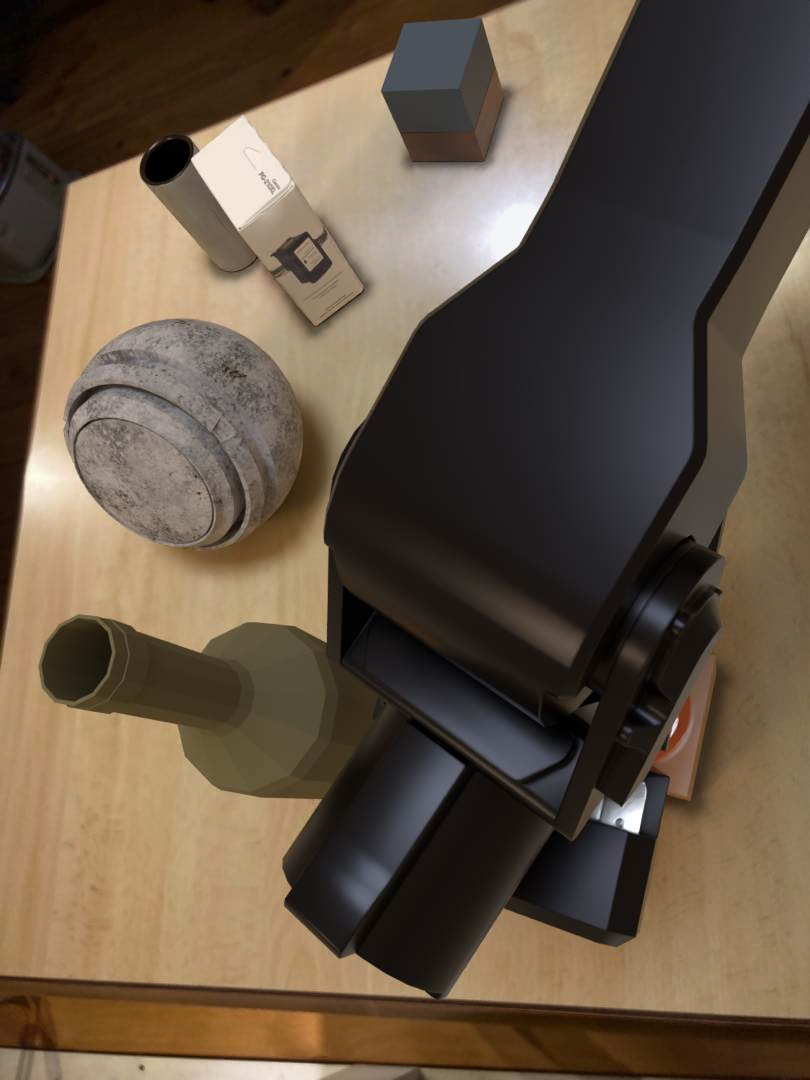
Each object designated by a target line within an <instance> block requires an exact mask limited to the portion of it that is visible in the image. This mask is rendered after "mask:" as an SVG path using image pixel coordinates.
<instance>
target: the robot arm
mask: <svg viewBox="0 0 810 1080" xmlns="http://www.w3.org/2000/svg"><path fill="white" fill-rule="evenodd" d="M809 230H810V0H635V1H634V3H633V5H632V7H631V9H630V12H629V15H628V16H627V19H626V21H625V23H624V25H623V28H622V29H621V32H620V34H619V36H618V38H617V41H616V43H615V45H614V47H613V49H612V52H611V54H610V56H609V58H608V60H607V63H606V65H605V67H604V69H603V71H602V74H601V76H600V78H599V81H598V83H597V85H596V86H595V89H594V92H593V93H592V96H591V98H590V100H589V102H588V105H587V106H586V109H585V110H584V113H583V116H582V118H581V120H580V122H579V124H578V127H577V129H576V131H575V133H574V135H573V138H572V140H571V142H570V144H569V146H568V148H567V150H566V153H565V155H564V157H563V159H562V162H561V164H560V165H559V168H558V170H557V173H556V175H555V177H554V179H553V182H552V184H551V186H550V188H549V190H548V192H547V193H546V196H545V197H544V199H543V201H542V203H541V205H540V206H539V208H538V210H537V211H536V213H535V215H534V217H533V219H532V221H531V223H530V224H529V226H528V227H527V230H526V232H525V233H524V235H523V237H522V239H521V241H520V242H519V244H518V245H517V247H515V248H514V249H513V250H511V251H510V252H509V253H507V254H506V255H505V256H503V257H502V258H500V259H499V260H498V261H496V262H495V263H494V264H493V265H491V266H490V267H488V268H487V269H486V270H484V272H482V273H480V275H478V276H477V277H475V278H474V279H473V280H471V281H470V282H468V283H467V284H466V285H464V286H463V287H462V288H461V289H459V290H458V291H456V292H455V293H453V294H452V295H451V296H449V297H448V298H447V299H445V300H444V301H443V302H442V303H440V304H439V305H438V306H436V307H435V308H434V309H432V310H431V311H430V312H428V313H427V314H426V315H425V316H424V317H422V319H421V320H419V322H418V323H417V325H416V326H415V328H414V329H413V331H412V333H411V335H410V336H409V338H408V339H407V342H406V344H405V345H404V348H403V349H402V351H401V353H400V355H399V357H398V358H397V361H396V362H395V364H394V366H393V367H392V369H391V371H390V373H389V375H388V377H387V378H386V380H385V382H384V384H383V386H382V387H381V389H380V390H379V391H380V392H379V393H378V395H377V397H376V399H375V401H374V402H373V404H372V406H371V408H370V410H369V411H368V414H367V415H366V417H365V419H364V420H363V421H362V422H361V423H360V424H359V426H357V428H355V430H354V431H353V433H352V434H351V437H350V438H349V440H348V441H347V443H346V444H345V446H344V449H343V450H342V452H341V453H340V456H339V459H338V462H337V463H336V466H335V469H334V472H333V474H332V478H331V484H330V491H329V498H328V501H327V504H326V507H325V514H324V516H325V517H324V521H323V529H322V530H323V532H322V536H323V544H324V545H325V546H326V547H327V548H328V549H327V550H328V552H327V598H326V599H327V601H326V602H327V603H326V604H327V606H326V643H327V653H326V656H327V658H328V660H330V661H331V662H332V663H334V664H335V665H336V666H338V667H339V668H340V669H342V670H343V671H344V672H346V673H347V674H348V675H350V676H351V677H352V678H354V679H355V680H356V681H358V682H359V683H360V684H362V685H363V686H364V687H366V688H367V689H368V690H370V691H371V692H373V693H374V694H375V695H377V696H378V699H377V702H376V706H375V709H374V713H373V716H372V717H373V720H375V721H374V722H373V724H372V725H371V727H370V728H369V730H368V731H367V733H366V734H365V736H364V737H363V739H362V740H361V742H360V743H359V745H358V746H357V748H356V749H355V751H354V752H353V754H352V755H351V757H350V758H349V760H348V761H347V763H346V764H345V766H344V767H343V769H342V770H341V772H340V773H339V775H338V776H337V778H336V779H335V781H334V782H333V784H332V785H331V787H330V788H329V790H328V791H327V793H326V794H325V796H324V797H323V799H320V802H319V803H318V804H317V806H316V807H315V809H314V810H313V812H312V814H311V815H310V816H309V818H308V819H307V821H306V823H304V825H303V827H302V828H301V830H300V831H299V833H298V834H297V836H296V837H295V838H294V841H293V842H292V843H291V845H290V847H289V848H288V850H286V852H285V854H284V855H283V857H282V859H281V860H282V863H281V868H282V871H283V874H284V877H285V879H286V882H287V884H288V885H289V887H290V890H289V891H288V892H287V894H286V896H285V898H284V900H283V906H284V908H285V909H286V910H287V911H288V912H289V913H290V914H291V915H293V917H295V919H297V920H298V921H299V923H301V924H302V925H303V926H304V927H305V928H306V929H307V930H308V931H309V932H310V933H312V935H313V936H314V937H315V938H316V939H318V940H319V942H320V943H322V944H323V945H324V946H325V947H326V949H328V950H329V951H330V952H331V953H332V954H333V955H334V956H335V957H337V959H339V960H341V959H345V958H347V957H350V956H352V955H356V956H358V957H359V958H361V959H362V960H364V961H365V962H366V963H368V964H370V965H371V966H373V967H375V968H376V969H378V970H379V971H380V972H382V973H384V974H385V975H387V976H389V977H391V978H392V979H395V980H397V981H399V982H401V983H402V984H405V985H407V986H409V987H412V988H415V989H418V990H420V991H424V992H425V993H426V994H427V995H428V996H430V997H431V998H433V999H435V1000H436V1001H437V1000H438V1001H441V1000H443V999H445V998H447V997H448V996H449V994H450V993H451V992H452V990H453V988H454V986H455V985H456V983H457V981H458V980H459V978H460V977H461V975H462V974H463V973H464V971H465V969H466V968H467V967H468V964H469V963H470V962H471V960H472V958H473V957H474V955H475V953H476V952H477V951H478V949H479V948H480V946H481V944H482V942H483V941H484V939H486V937H487V936H488V933H489V932H490V930H491V928H492V927H493V926H494V924H495V922H496V921H497V919H498V918H499V916H500V915H501V913H502V912H503V910H506V911H509V912H512V913H514V914H517V915H519V916H523V917H525V918H528V919H531V920H534V921H536V922H539V923H541V924H544V925H548V926H550V927H553V928H556V929H558V930H560V931H563V932H566V933H569V934H572V935H574V936H577V937H579V938H582V939H585V940H588V941H589V942H590V941H591V942H594V943H596V944H599V945H603V946H609V947H612V948H613V947H614V948H618V947H621V946H622V945H624V944H626V943H628V942H629V941H631V940H634V939H636V938H637V936H638V935H639V933H640V932H641V927H642V922H643V918H644V913H645V909H646V905H647V904H646V903H647V898H648V893H649V889H650V885H651V880H652V875H653V870H654V866H655V860H656V854H657V847H658V842H659V839H658V837H659V833H660V829H661V828H660V827H661V823H662V819H663V813H664V809H665V804H666V799H667V796H668V795H667V791H668V786H669V781H670V777H669V776H668V775H666V774H664V773H663V772H661V771H660V770H658V769H656V768H655V767H653V766H652V764H653V762H654V760H655V758H656V756H657V754H658V753H659V751H660V750H661V751H665V752H667V750H668V745H669V740H670V736H671V731H672V726H673V724H674V722H675V720H676V719H677V717H678V715H679V713H680V711H681V709H682V707H683V705H684V703H685V702H686V700H687V698H688V696H689V694H690V692H691V690H692V688H693V686H694V685H695V683H696V681H697V679H698V677H699V675H700V673H701V671H702V669H703V668H704V666H705V664H706V662H707V660H708V658H709V656H710V654H712V653H713V650H714V649H715V647H716V645H717V643H718V642H719V639H720V637H721V635H722V633H723V630H724V625H723V621H722V618H721V615H720V612H719V608H718V606H719V604H720V603H721V600H722V599H723V597H724V594H725V591H723V590H722V589H719V588H718V587H719V585H720V582H721V579H722V577H723V575H724V572H725V567H726V564H727V560H726V557H725V556H724V555H722V554H720V553H719V552H720V549H721V544H722V539H723V535H724V530H725V524H726V520H727V516H728V510H729V508H730V507H731V505H732V503H733V501H734V499H735V497H736V495H737V494H738V491H739V489H740V488H741V486H742V484H743V482H744V479H745V477H746V474H747V471H748V448H747V447H748V444H747V428H746V427H747V426H746V409H745V407H746V406H745V392H744V391H745V389H744V374H743V373H744V371H743V360H744V359H743V358H744V355H745V353H746V351H747V349H748V346H749V345H750V343H751V341H752V339H753V337H754V335H755V333H756V330H757V329H758V327H759V325H760V322H761V321H762V318H763V317H764V314H765V312H766V310H767V309H768V306H769V304H770V302H771V301H772V298H773V297H774V294H775V293H776V292H777V289H778V288H779V286H780V284H781V281H782V280H783V278H784V276H785V274H786V272H787V270H788V269H789V267H790V265H791V263H792V261H793V259H794V258H795V256H796V254H797V252H798V250H799V248H800V247H801V245H802V243H803V241H804V239H805V237H806V236H807V233H808V232H809Z"/></svg>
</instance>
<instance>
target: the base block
mask: <svg viewBox="0 0 810 1080" xmlns="http://www.w3.org/2000/svg"><path fill="white" fill-rule="evenodd" d="M504 98H505V94H504V91H503V88H502V84H501V81H500V78H499V74H498V70H497V66H496V65H495V66H494V69H493V72H492V75H491V78H490V82H489V85H488V88H487V91H486V94H485V97H484V101H483V104H482V107H481V110H480V113H479V116H478V120H477V123H476V126H475V129H474V131H462V132H399V135H400V137H401V139H402V141H403V144H404V146H405V148H406V150H407V153H408V155H409V157H410V159H411V161H412V162H484V161H485V160H486V155H487V153H488V149H489V147H490V143H491V140H492V137H493V133H494V130H495V126H496V124H497V120H498V117H499V114H500V111H501V108H502V105H503V101H504Z"/></svg>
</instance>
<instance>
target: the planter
mask: <svg viewBox="0 0 810 1080" xmlns="http://www.w3.org/2000/svg"><path fill="white" fill-rule="evenodd" d="M200 150H201V149H200V148H199V147H198V146H197V145H196V143H195V142H194V141H193V139H192V138H191V137H190V136H189V135H187V134H184V133H181V132H173V133H168V134H165V135H163V136H162V137H159V138H158V139H156V140H155V141H154V142H152V143H151V145H150V146H149V147H148V148H147V149H146V150H145V152H144V153H143V155H142V158H141V159H140V162H139V169H138V170H139V172H138V173H139V176H140V179H141V181H142V182H143V184H145V186H146V187H147V188H148V189H149V191H150V192H152V194H153V195H154V196H155V197H156V198H157V199H158V200H159V201H160V202H161V204H162V205H163V206H164V207H165V208H166V210H167V211H168V212H169V213H170V214H171V215H172V216H173V218H175V220H176V221H177V222H178V223H179V224H180V225H181V227H183V229H184V230H185V231H186V232H187V233H188V234H189V236H191V238H192V240H194V241H195V242H196V243H197V245H198V246H199V247H200V248H201V249H202V250H203V251H204V253H205V254H206V255H207V256H208V257H209V259H211V261H212V262H213V263H214V264H215V265H216V266H217V267H218V268H219V269H220V270H223V271H226V272H237V271H241V270H243V269H245V268H246V267H248V266H250V265H251V264H252V263H253V262H254V261H256V259H257V258H258V256H257V255H256V254H255V252H254V251H253V250H252V249H251V247H250V246H249V245H248V244H247V242H246V241H245V240H244V238H243V237H242V236H241V235H240V233H239V232H238V231H237V229H236V228H235V226H234V225H233V223H232V222H231V220H230V219H229V218H228V216H227V215H226V213H225V212H224V210H223V209H222V207H221V206H220V204H219V203H218V201H217V200H216V198H215V197H214V195H213V194H212V192H211V191H210V190H209V188H208V187H207V185H206V184H205V182H204V181H203V179H202V178H201V176H200V174H199V173H198V171H197V170H196V168H195V166H194V165H193V163H192V161H191V159H192V157H193V156H194V155H196V154H197V153H198V152H199V151H200Z"/></svg>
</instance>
